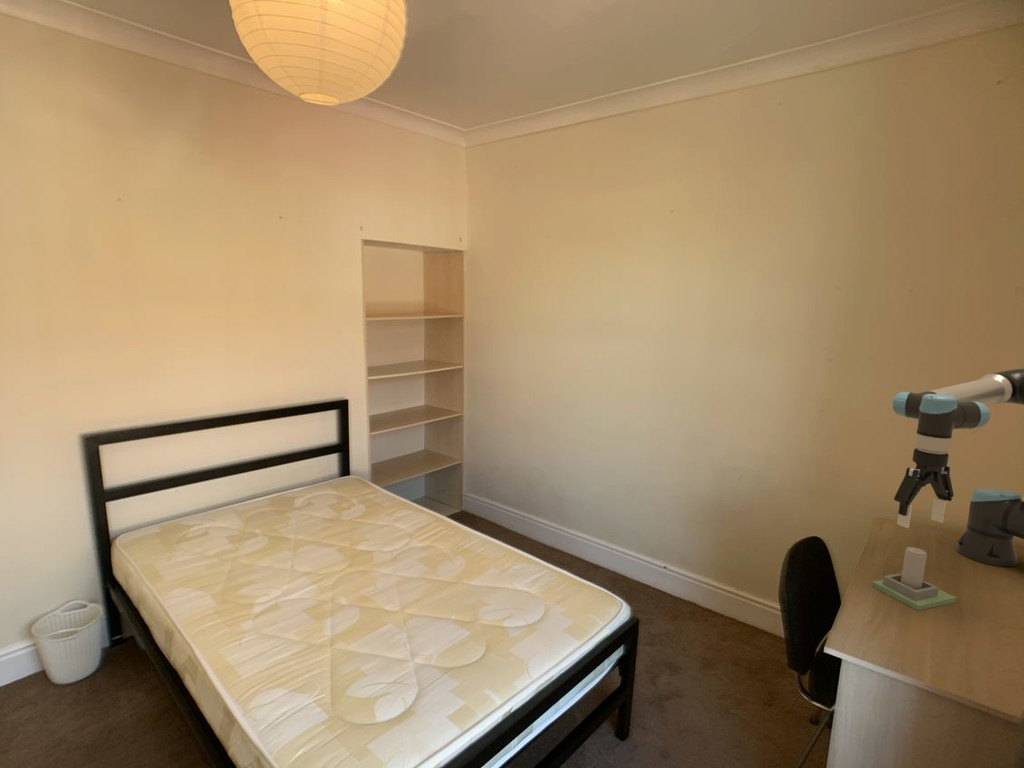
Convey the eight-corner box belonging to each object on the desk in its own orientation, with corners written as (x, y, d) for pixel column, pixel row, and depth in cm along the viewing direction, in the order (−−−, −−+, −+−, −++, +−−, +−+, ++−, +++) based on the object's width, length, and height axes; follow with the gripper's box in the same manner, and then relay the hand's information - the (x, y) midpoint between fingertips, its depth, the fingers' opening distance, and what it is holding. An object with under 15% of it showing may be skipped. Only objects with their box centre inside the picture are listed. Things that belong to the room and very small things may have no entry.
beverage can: (923, 595, 144) (930, 555, 143) (903, 592, 146) (909, 552, 144) (916, 587, 149) (923, 548, 147) (896, 584, 150) (903, 545, 149)
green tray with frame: (907, 579, 156) (909, 566, 156) (955, 602, 144) (957, 589, 144) (871, 586, 152) (873, 573, 151) (918, 610, 140) (920, 597, 139)
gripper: (947, 444, 149) (936, 514, 152) (885, 449, 141) (874, 522, 144) (977, 451, 142) (965, 524, 145) (913, 457, 134) (902, 533, 137)
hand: (920, 523), depth 144 cm, fingers open, 13 cm apart
